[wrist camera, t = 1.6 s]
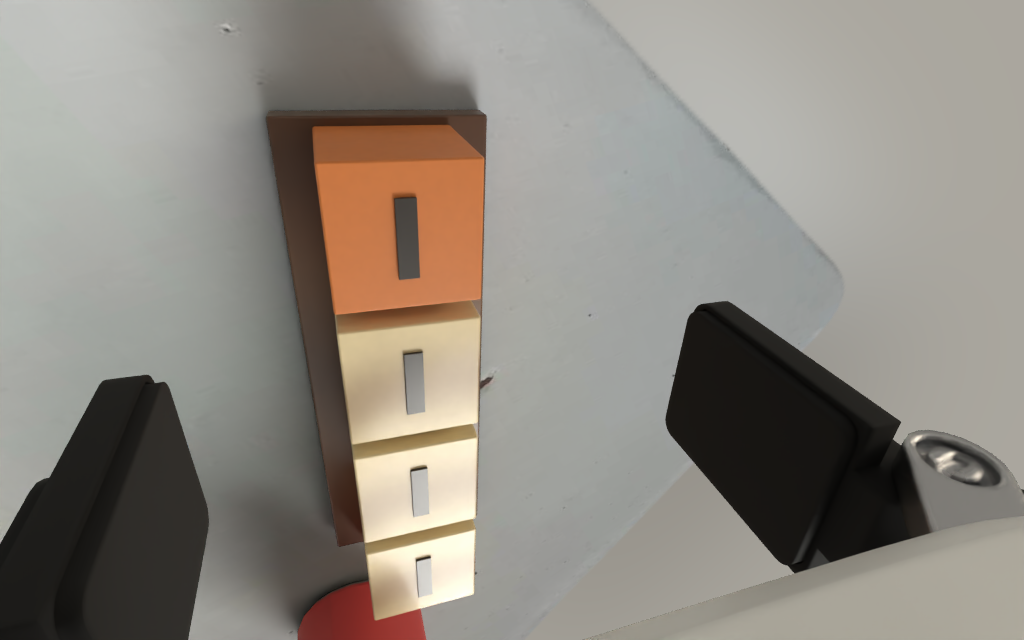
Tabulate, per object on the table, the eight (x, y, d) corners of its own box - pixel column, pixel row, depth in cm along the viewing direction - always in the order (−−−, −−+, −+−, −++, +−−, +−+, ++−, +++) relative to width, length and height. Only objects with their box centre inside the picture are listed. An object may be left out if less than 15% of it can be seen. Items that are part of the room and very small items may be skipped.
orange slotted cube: (311, 126, 17) (313, 163, 14) (450, 124, 18) (486, 157, 15) (328, 255, 19) (334, 317, 16) (450, 246, 21) (482, 301, 17)
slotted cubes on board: (266, 110, 17) (254, 152, 13) (479, 109, 20) (532, 145, 15) (336, 531, 28) (343, 636, 23) (472, 501, 30) (502, 593, 25)
